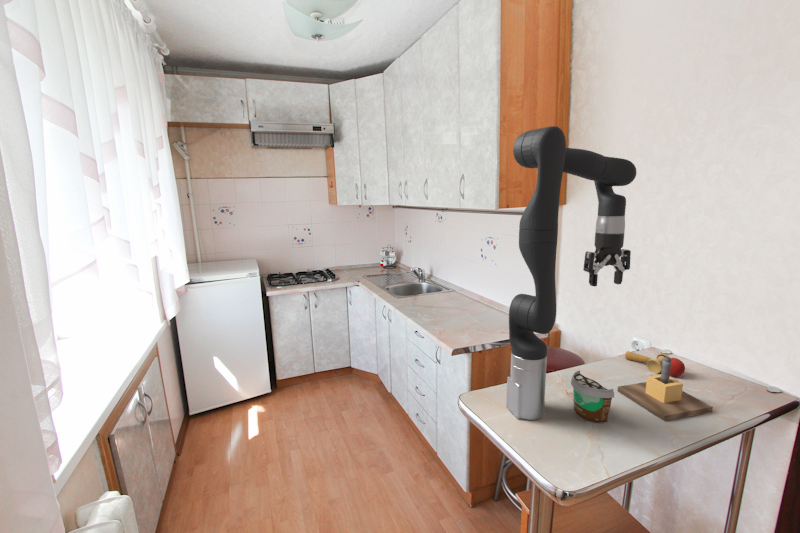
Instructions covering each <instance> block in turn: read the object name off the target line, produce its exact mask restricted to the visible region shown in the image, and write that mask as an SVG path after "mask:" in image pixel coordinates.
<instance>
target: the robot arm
mask: <svg viewBox="0 0 800 533" xmlns="http://www.w3.org/2000/svg"><path fill="white" fill-rule="evenodd" d="M566 139H567V138H566V135H565V132H564V131H563V130H562V128H560V127H558V126H556V125H552V126H545V127H541V128H535V129H531V130H527V131H524V132H522V133H520V134H519V135H518V136H517V137H516V138H515V140H514V144H513V147H512V154H513V157H514V160H515V161H516V163H518V165H520V166H521V167H523V168H526V169H537V174H536V175H537V178H536V183H535V184H536V185H535V190H534V192H533V195H532V196H531V198H530V200H529V202H528V203H527V205H526V207H525V208H524V211H523V213H522V215H521V218H520V220H519V227H518V228H519V230H518V248H519V252H520V254H521V256H522V259H523V260H524V262H525V264H526V265H527V269H528V270H529V272H530V274H531V276H532V278H533V282H534V291H535V292H534V293H535V295H532V294H526V293H519V294H517V295H515V296H514V297H513V299H512V300H511V302H510V305H509V308H508V309H509V310H508V330H509V332H508V334H509V336H508V338H509V339H508V340H509V345H510V348H511V349H510V350H511V352H510V353H511V354H510V375H509V376H507V377H506V380H507V383H506V409H508V411H509V412H510V413H511V414H512V415H513V416H514V417H515V418H516V419H517V420H519V419H523V420H528V421H529V420H530V421H531V420H539V419H541V418H543V417H544V414H545V403H546V402H545V399H546V398H545V397H546V378H547V364H548V363H547V362H548V359H547V358H548V346H547V344H546V342H545V341H543V339H541V338H539V337H538V336H537V335H536V334H541V335H547V334H549V333H550V332H551V331H552V330H553V328H554V326H555V323H556V318H557V288H556V285H557V284H556V263H557V262H556V261H557V248H558V235H559V234H558V233H559V212H560V211H559V210H560V200H561V199H560V197H561V187H562V180H563V173H564V174H565V173H566V174H568V175H573V176H576V177H579V178H583V179H585V180H589V181H593V182H594V186H595V191H596V196H597V202H598V206H597V218H596V223H595V234H594V247H595V250H594V251H585V254H584V261H583V262H584V263H583V271H584V272H585V273H588V275H589V276H588V284H589V286H591V287H597V286H598V279H599V278H598V275H599V274H598V273H599V272H600V270H601V269H603V268H604V267H608V266H613V268H614V270H615V271H614V274H613V284H616V285H622V282H623V278H624V277H623V276H624V272H625V271H627V270H630V269H631V256H632V255H631V253H632V252H631V250H630V249H625V248H623V247H624V243H625V232H626V231H625V230H626V209H627V208H626V206H627V199H626V197H625V196H624V195H622V194H618V193H615V192H614V190H613V189H614V188H613V187H624V186H628V185H629V184H632V182H634V180H635V178H636V177H637V168H636V166H635V164H634V163H633V162H632V161H631V160H628V159H625V158H621V157H614V156H613V157H612V156H611V157H610V156H606V155H603V154H601V153H597V152H594V151H591V150H588V149H581V148H573V147H567V141H566ZM535 333H536V334H535Z"/></svg>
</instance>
